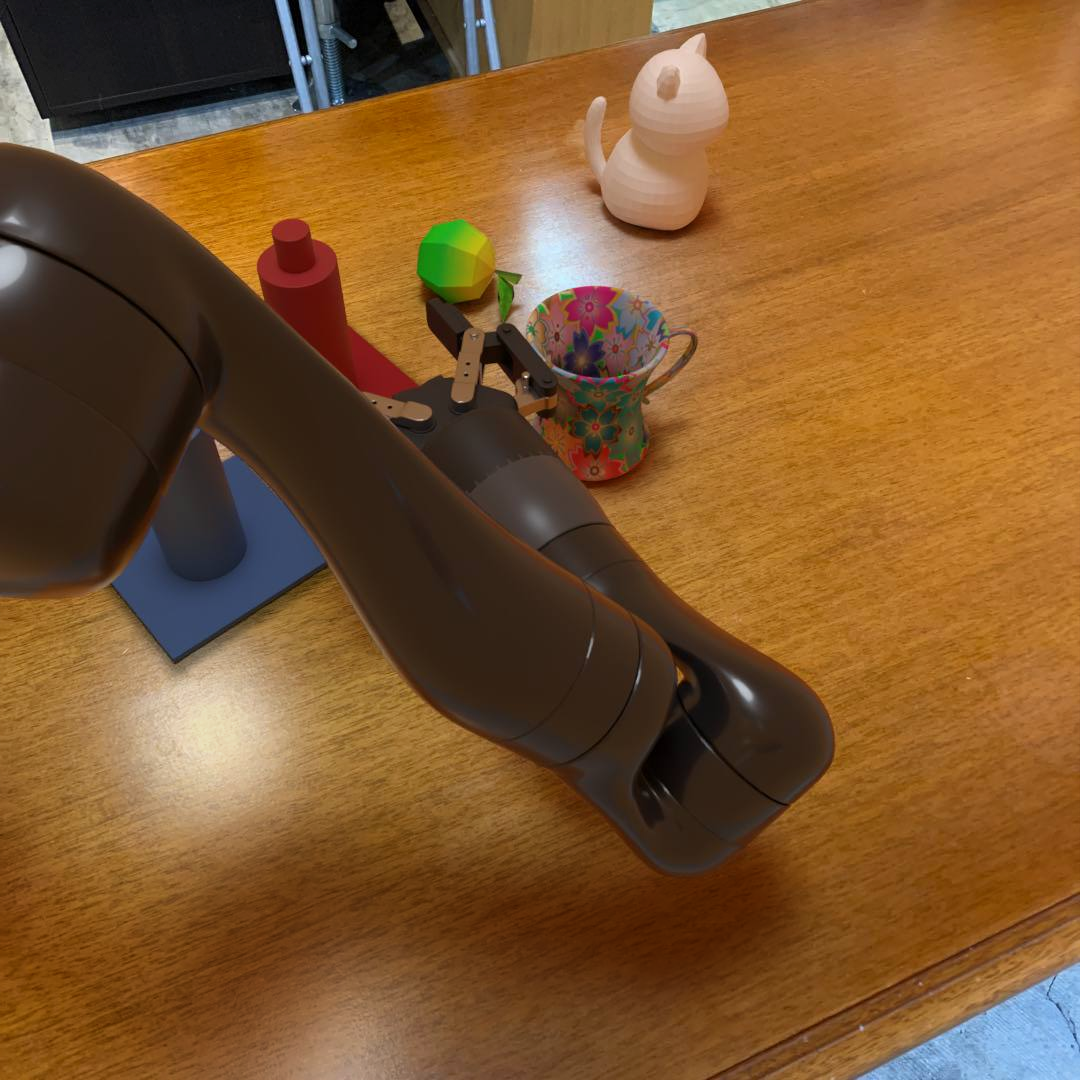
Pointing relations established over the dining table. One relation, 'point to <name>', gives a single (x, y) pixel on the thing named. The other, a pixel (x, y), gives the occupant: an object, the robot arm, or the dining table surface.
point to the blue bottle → (200, 516)
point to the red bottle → (307, 291)
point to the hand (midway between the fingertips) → (367, 335)
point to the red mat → (376, 370)
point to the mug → (601, 375)
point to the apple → (462, 265)
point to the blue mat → (218, 604)
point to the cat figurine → (662, 140)
